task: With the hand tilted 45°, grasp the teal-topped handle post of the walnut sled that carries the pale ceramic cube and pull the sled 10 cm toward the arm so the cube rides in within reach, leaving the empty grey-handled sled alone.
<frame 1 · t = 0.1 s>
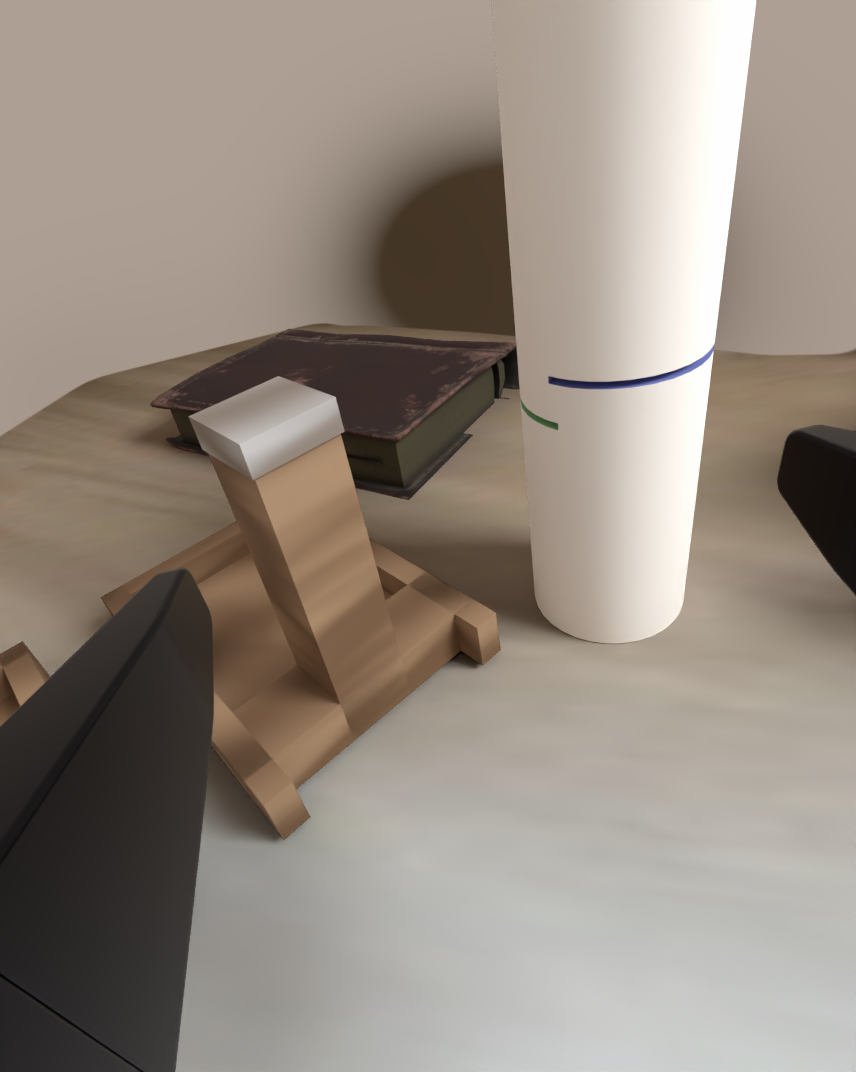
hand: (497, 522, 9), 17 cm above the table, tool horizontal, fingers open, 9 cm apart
diary: (343, 425, 53), on the table
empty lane: (362, 700, 28), on the table
cylindrical container: (606, 593, 31), on the table
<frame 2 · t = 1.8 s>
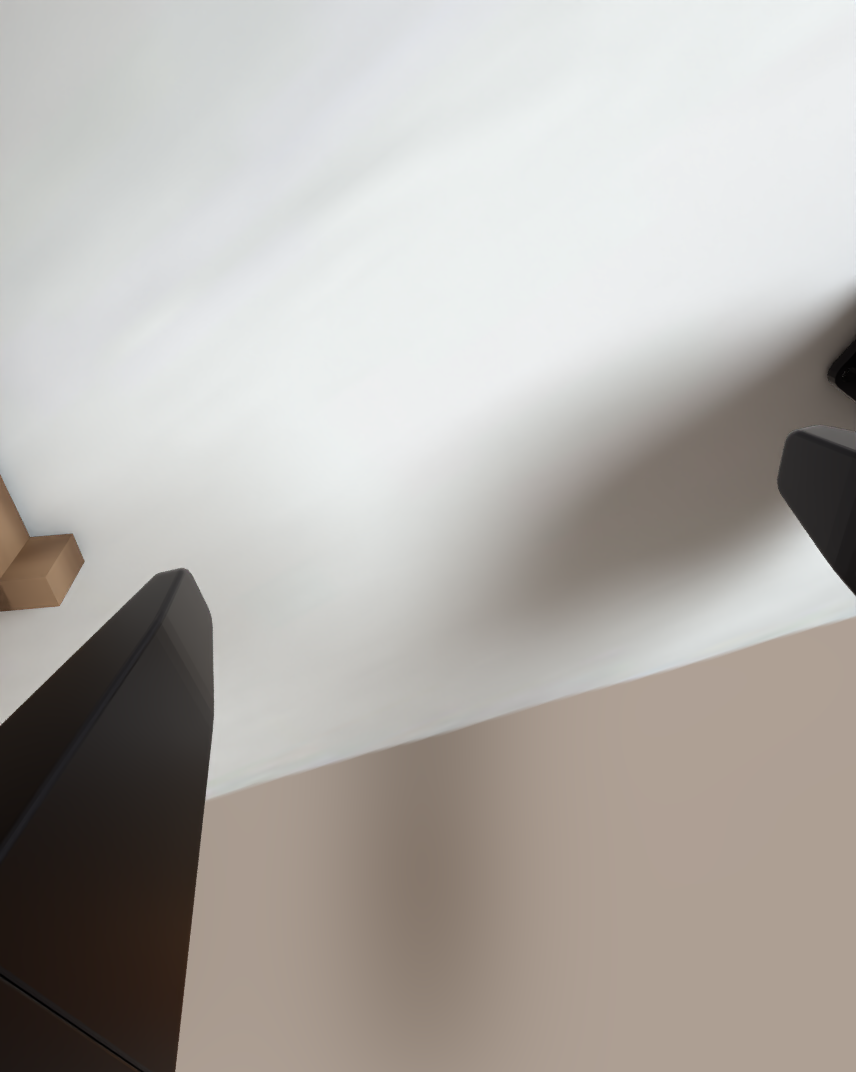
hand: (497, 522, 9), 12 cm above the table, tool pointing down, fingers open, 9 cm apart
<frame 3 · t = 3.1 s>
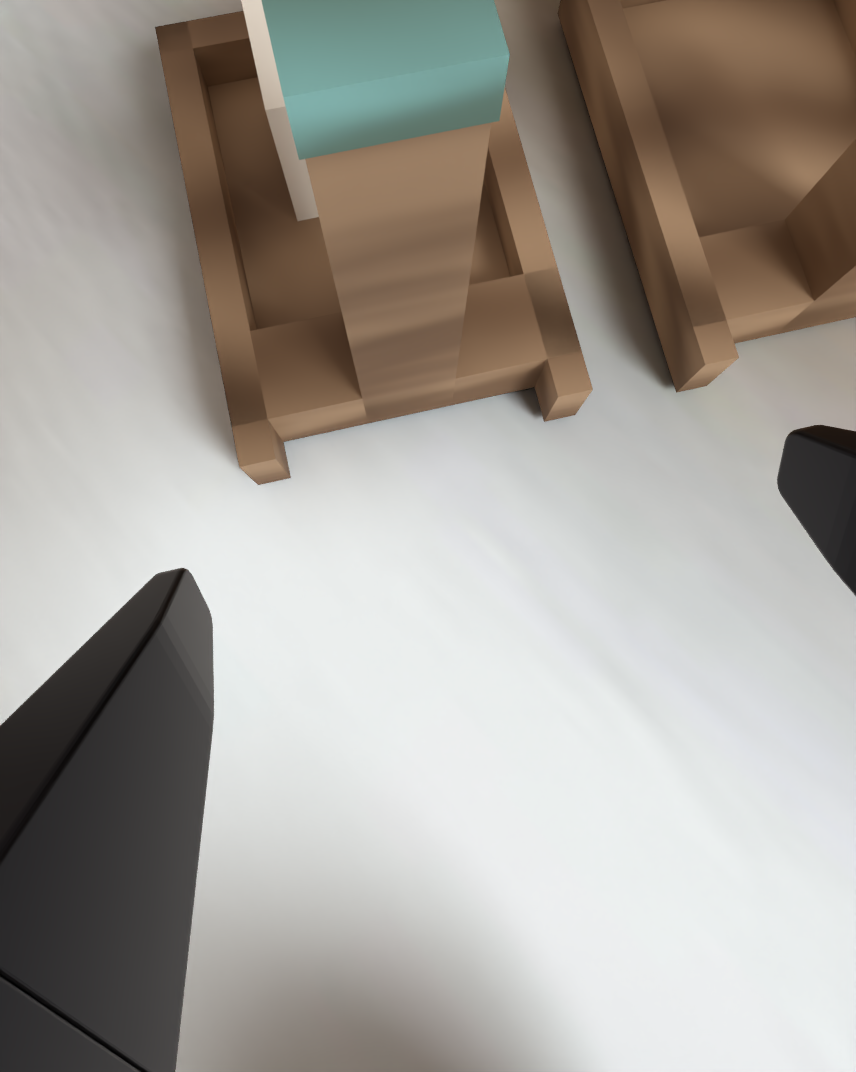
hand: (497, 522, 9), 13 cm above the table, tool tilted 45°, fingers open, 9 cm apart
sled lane: (348, 81, 17), point 7 cm above the table, slide at 0.0 cm, touching cube
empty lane: (796, 292, 24), on the table
cube: (348, 151, 24), point 1 cm above the table, touching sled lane
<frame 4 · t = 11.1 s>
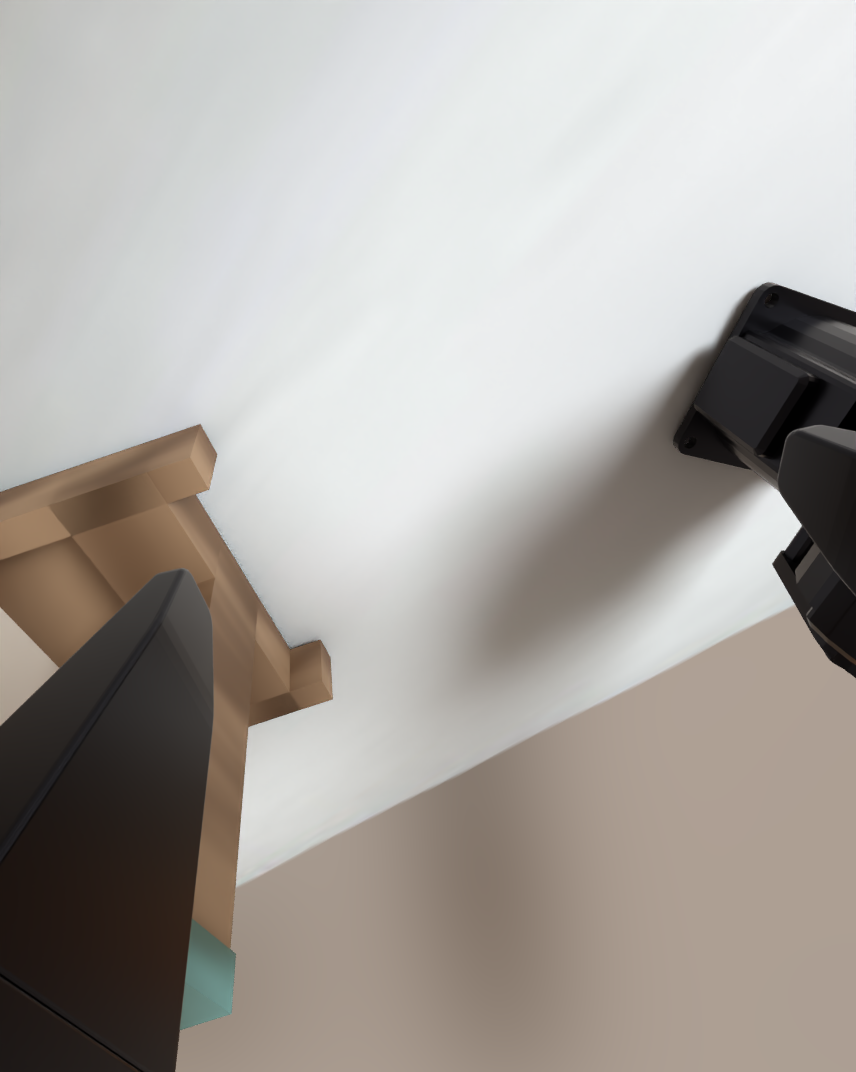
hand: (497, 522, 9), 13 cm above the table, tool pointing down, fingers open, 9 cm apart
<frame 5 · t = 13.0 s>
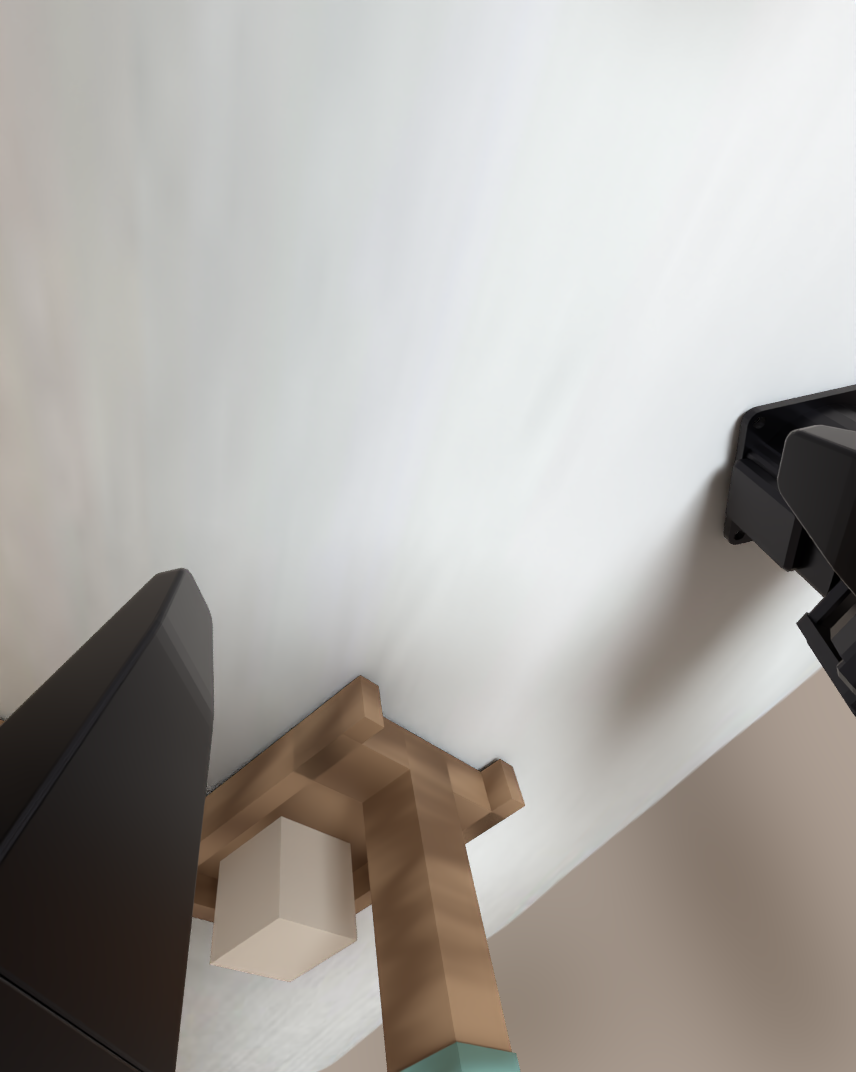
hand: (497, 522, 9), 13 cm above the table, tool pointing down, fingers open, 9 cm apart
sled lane: (334, 951, 28), point 7 cm above the table, slide at 10.0 cm, touching cube
cube: (286, 852, 34), point 1 cm above the table, touching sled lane
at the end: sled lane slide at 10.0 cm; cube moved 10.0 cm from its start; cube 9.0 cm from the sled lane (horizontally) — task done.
